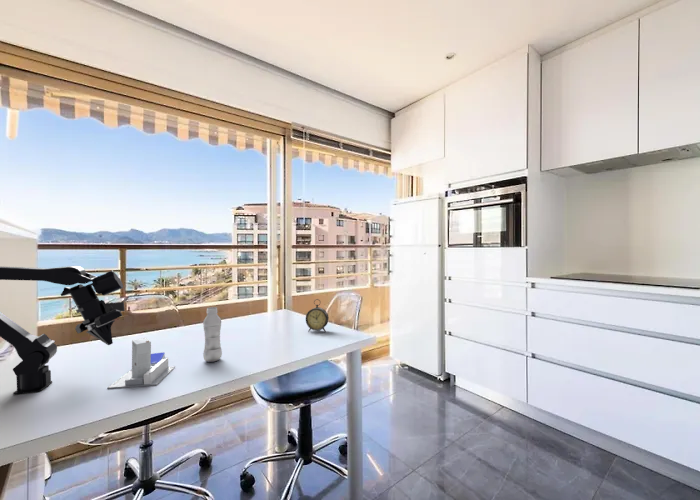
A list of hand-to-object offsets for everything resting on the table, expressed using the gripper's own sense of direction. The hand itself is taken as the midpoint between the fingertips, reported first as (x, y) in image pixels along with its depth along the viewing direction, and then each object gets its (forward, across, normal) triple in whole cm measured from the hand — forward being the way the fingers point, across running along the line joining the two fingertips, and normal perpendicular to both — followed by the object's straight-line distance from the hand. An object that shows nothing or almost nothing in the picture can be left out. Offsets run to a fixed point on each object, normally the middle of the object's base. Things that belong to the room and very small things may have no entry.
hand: (110, 344), depth 102 cm
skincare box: (+14, -6, -1) cm, 15 cm away
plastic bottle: (+22, -13, -21) cm, 33 cm away
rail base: (+14, -6, -1) cm, 16 cm away
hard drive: (+13, +5, -10) cm, 17 cm away
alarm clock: (+39, -25, -68) cm, 82 cm away
